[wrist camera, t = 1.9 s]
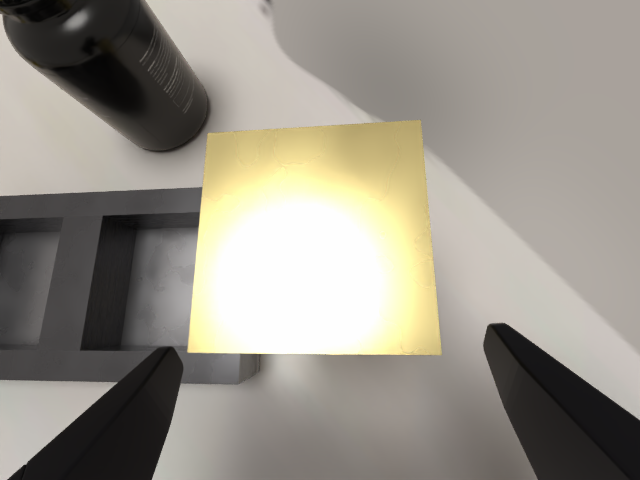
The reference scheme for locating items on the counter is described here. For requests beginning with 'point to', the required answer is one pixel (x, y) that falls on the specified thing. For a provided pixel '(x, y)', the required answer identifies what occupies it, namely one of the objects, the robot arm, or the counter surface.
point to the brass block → (315, 243)
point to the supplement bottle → (112, 65)
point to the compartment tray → (102, 286)
